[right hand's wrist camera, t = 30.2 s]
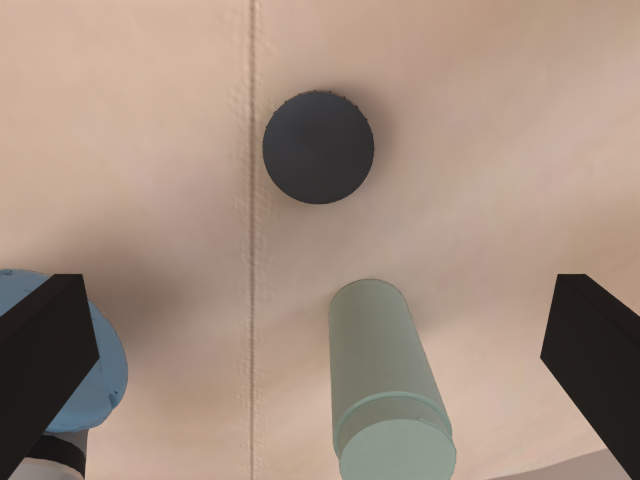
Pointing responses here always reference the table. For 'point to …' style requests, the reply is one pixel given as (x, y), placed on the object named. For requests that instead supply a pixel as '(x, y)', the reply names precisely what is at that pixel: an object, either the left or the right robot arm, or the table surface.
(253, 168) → the table surface
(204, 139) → the table surface
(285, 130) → the lid
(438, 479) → the jar
